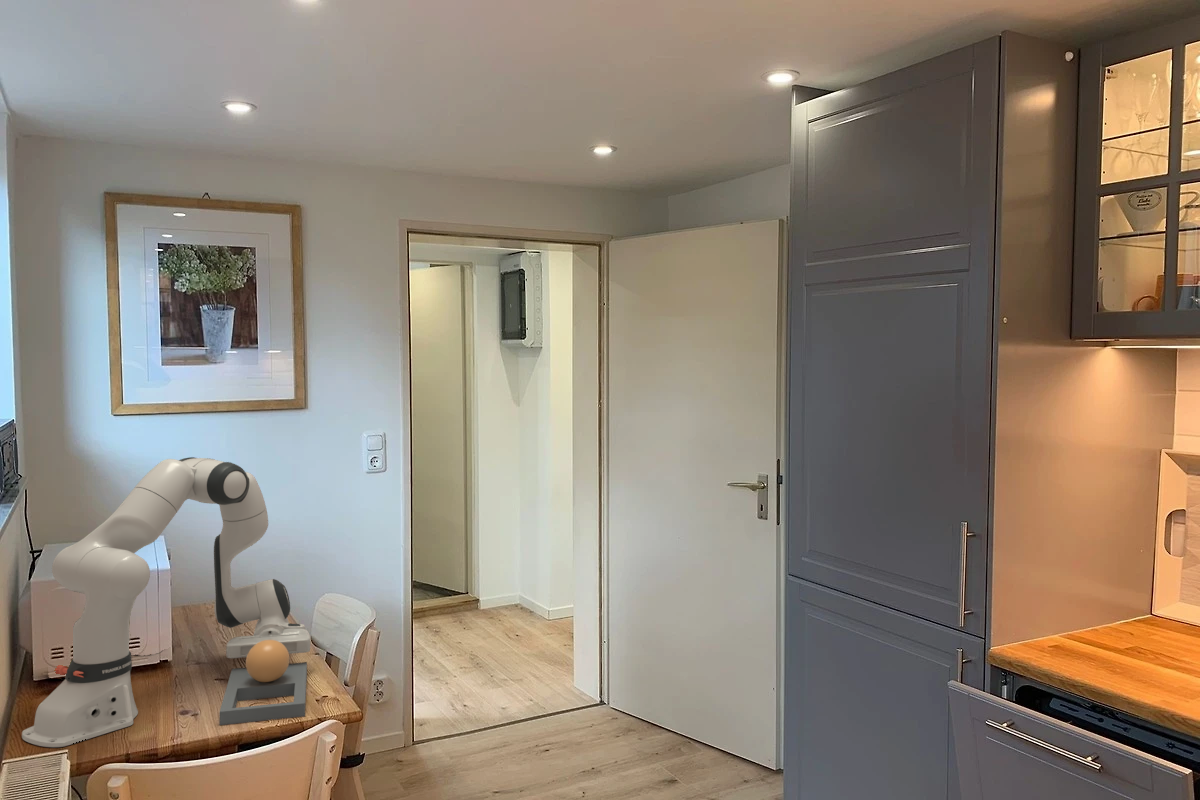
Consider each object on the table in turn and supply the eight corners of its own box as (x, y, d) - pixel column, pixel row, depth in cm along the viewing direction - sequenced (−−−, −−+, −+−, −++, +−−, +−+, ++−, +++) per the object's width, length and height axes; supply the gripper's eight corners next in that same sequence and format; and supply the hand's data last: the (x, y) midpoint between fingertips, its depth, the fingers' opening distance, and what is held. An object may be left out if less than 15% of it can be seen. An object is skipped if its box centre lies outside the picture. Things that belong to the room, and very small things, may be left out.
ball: (268, 696, 214) (267, 683, 206) (237, 670, 215) (235, 657, 207) (298, 664, 220) (298, 651, 212) (268, 639, 221) (267, 625, 213)
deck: (232, 680, 222) (232, 668, 222) (306, 673, 227) (306, 662, 227) (219, 725, 194) (219, 711, 194) (304, 716, 200) (304, 703, 200)
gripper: (228, 629, 228) (222, 645, 215) (310, 623, 234) (310, 638, 221) (228, 653, 228) (222, 671, 215) (310, 647, 235) (310, 663, 221)
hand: (267, 654), depth 218 cm, fingers closed
